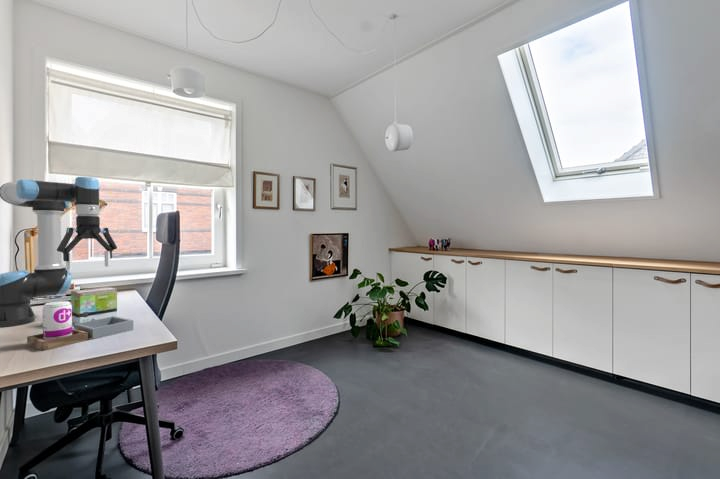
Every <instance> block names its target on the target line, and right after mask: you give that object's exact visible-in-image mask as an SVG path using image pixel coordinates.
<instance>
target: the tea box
mask: <svg viewBox="0 0 720 479" xmlns="http://www.w3.org/2000/svg"><path fill="white" fill-rule="evenodd" d="M70 304H71V305H72V324H73V325H74V324H77V323H82V322H87V321H92V320H97V319H102V318H107V317H112V316H115V317H118V289H117V288H115V287H109V286H106V287H95V288H85V289H78V290H71V291H70Z"/></svg>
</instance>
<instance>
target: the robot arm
mask: <svg viewBox="0 0 720 479" xmlns="http://www.w3.org/2000/svg"><path fill="white" fill-rule="evenodd" d="M0 199H1V200H2V201H4V202H5V203H7V204H10V205H13V206H15V207H16V206H17V207H23V208H32V212H33V213H34V214H35V215H36V224H37V225H36V226H37V227H36V228H37V230H36V233H37V266H35V267H34V269H33V272H30V271H29V270H27V269H25V270H24V269H23V270H15V271H9V272H3V273H0V328H5V327H6V328H7V327H13V326H14V327H15V326H19V325H20V326H21V325H25V324H29V323H32V322H35V321H36V315H35V313H34V310H33V308H32V306H31V303H30V299H33V298H39V297H47V296H57V295H64V294H65V293H67V292H68V291H69V289H70V288H71V283H72V273H71V270H73V253H72V252H71V251H72V250H73V249H74V248H75V247H76V245H78V244H79V242H80V241H81V240H84V239H85V240H86V239H94V240H96V241H97V243H99V244H100V245H101V246H102V247H103V248H104V249H105V250H104V267H107V268H108V267H109V268H110V267H111V259H112V258H113V252H114V251H115V250H117V249H118V246H117V245H116V243H115V241H114V239H113V238H112V236H111V234H110V231H109V228H108V227H100V223H101V220H100V218H101V217H100V216H99V215H100V183H99V180H98V178H96V177H91V176H77V177H75V181H74V183H69V182H68V183H67V182H56V181H43V180H33V179H19V180H18V181H9V182H6V183H4V184H1V186H0ZM70 203H74V204H75V214H76V215H77V216H75V220H76V222H75V223H76V224H75V225H76V227H66V230H65V231H66V233H65V235H64V237H63V238H62V221H61V220H62V218H61V217H62V215H63V214H64V213H65V210H67V209H68V208H69V207H70ZM74 233H76V234H77V235H75V237H73V239H72V240H71V238H72V236H73V235H74ZM100 233H102V235H103V236H101V234H100ZM103 237H104V238H103ZM104 239H105V240H104ZM70 240H71V241H70ZM62 256H63V257H62ZM62 258H63V260H62ZM63 262H65V264H66V265H64V264H63Z"/></svg>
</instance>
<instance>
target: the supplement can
mask: <svg viewBox="0 0 720 479" xmlns="http://www.w3.org/2000/svg"><path fill="white" fill-rule="evenodd" d="M72 328H73V323H72V305H71V301H69V300H58V301H50V302H46V303H44V305H43V308H42V331H43V332H42V334H43V340H46V341H47V340H52V339H56V338H61V337H65V336H70V335H72Z"/></svg>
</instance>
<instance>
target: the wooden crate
mask: <svg viewBox="0 0 720 479" xmlns="http://www.w3.org/2000/svg"><path fill="white" fill-rule="evenodd" d="M88 340H89V338H88V332H85V331H81V330H77V329H74V327H72V335H70V336H65V337H61V338H56V339H52V340H47V341H46V340H43V333H38V334H34V335H33V334H32V335H28V336H26V345H27V346H29V347H33V348H35V349H38V350H41V351H48V350H52V349H56V348H61V347H64V346H70V345H73V344H77V343H82V342H85V341H88Z"/></svg>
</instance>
